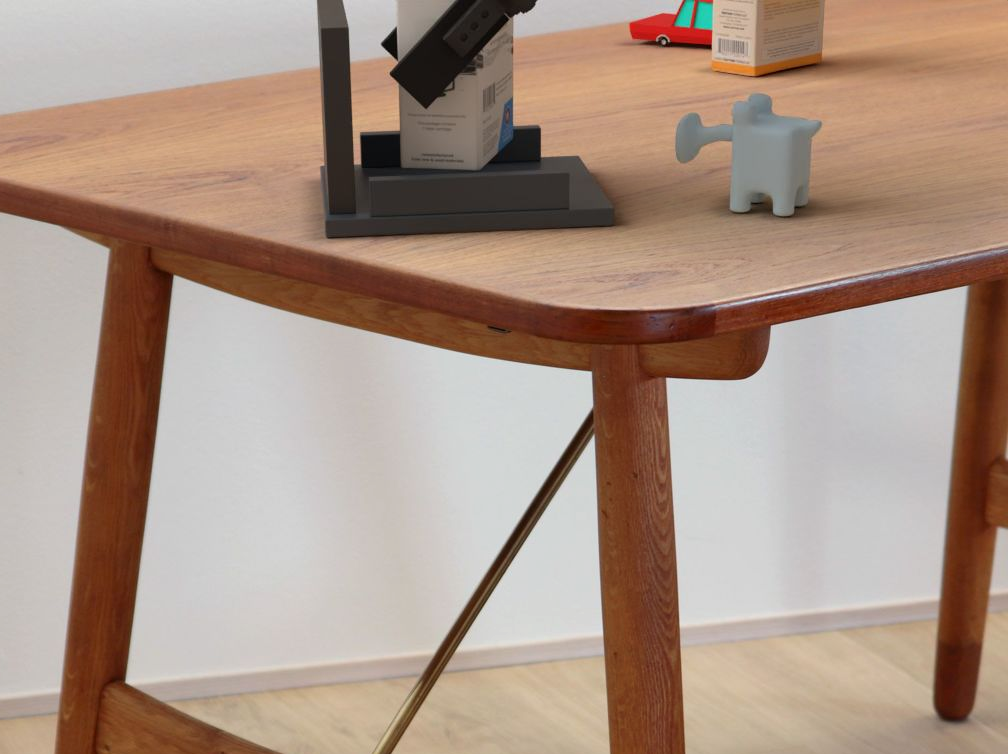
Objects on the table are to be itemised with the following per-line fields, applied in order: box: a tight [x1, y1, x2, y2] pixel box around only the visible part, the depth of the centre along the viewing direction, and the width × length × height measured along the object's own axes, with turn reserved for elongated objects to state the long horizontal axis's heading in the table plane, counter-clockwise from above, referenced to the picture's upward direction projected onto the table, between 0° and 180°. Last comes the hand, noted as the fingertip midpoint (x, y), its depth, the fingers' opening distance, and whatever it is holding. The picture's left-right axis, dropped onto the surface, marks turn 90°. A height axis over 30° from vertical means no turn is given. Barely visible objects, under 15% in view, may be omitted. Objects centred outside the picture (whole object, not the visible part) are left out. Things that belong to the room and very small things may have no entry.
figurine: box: [674, 92, 823, 217], centre depth 109 cm, size 4×8×6 cm, turn 62°
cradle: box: [316, 0, 616, 238], centre depth 110 cm, size 14×16×11 cm
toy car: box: [628, 0, 713, 47], centre depth 162 cm, size 6×12×4 cm, turn 56°
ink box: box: [395, 0, 514, 171], centre depth 109 cm, size 9×5×12 cm, turn 163°
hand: (402, 75), depth 109 cm, fingers closed on ink box, 9 cm apart
